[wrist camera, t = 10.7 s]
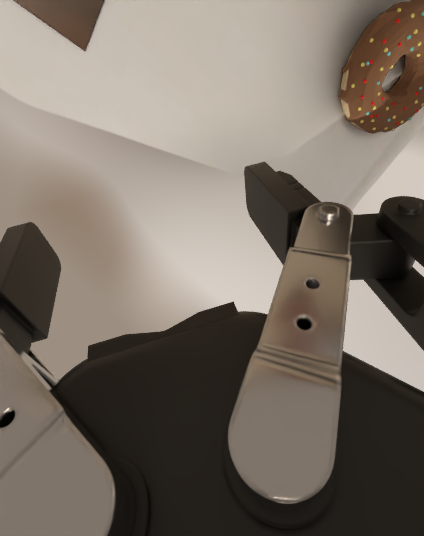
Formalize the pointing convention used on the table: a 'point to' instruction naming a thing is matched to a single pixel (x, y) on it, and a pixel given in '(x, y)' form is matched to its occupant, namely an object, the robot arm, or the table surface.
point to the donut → (386, 70)
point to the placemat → (67, 16)
